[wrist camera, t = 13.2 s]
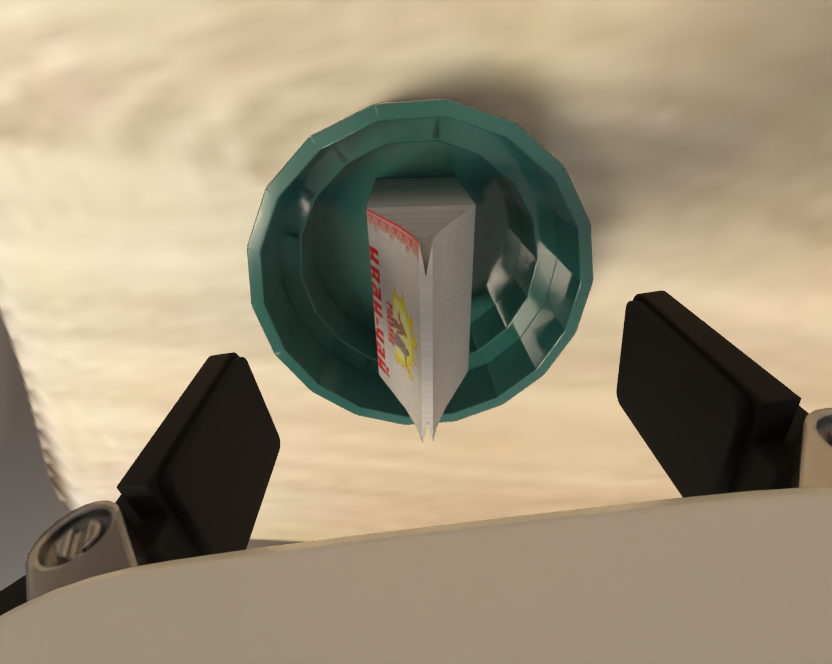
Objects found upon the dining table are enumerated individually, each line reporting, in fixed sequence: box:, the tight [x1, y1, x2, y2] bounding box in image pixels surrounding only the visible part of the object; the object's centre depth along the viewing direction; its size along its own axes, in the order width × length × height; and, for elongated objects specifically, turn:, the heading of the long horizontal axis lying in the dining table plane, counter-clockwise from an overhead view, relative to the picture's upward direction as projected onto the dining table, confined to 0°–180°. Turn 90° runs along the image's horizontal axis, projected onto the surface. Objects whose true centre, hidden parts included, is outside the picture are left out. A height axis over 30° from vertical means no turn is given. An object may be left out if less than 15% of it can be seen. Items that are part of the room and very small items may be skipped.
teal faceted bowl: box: [247, 99, 593, 425], centre depth 19 cm, size 13×13×6 cm
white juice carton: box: [366, 177, 476, 442], centre depth 17 cm, size 4×7×10 cm, turn 1°
